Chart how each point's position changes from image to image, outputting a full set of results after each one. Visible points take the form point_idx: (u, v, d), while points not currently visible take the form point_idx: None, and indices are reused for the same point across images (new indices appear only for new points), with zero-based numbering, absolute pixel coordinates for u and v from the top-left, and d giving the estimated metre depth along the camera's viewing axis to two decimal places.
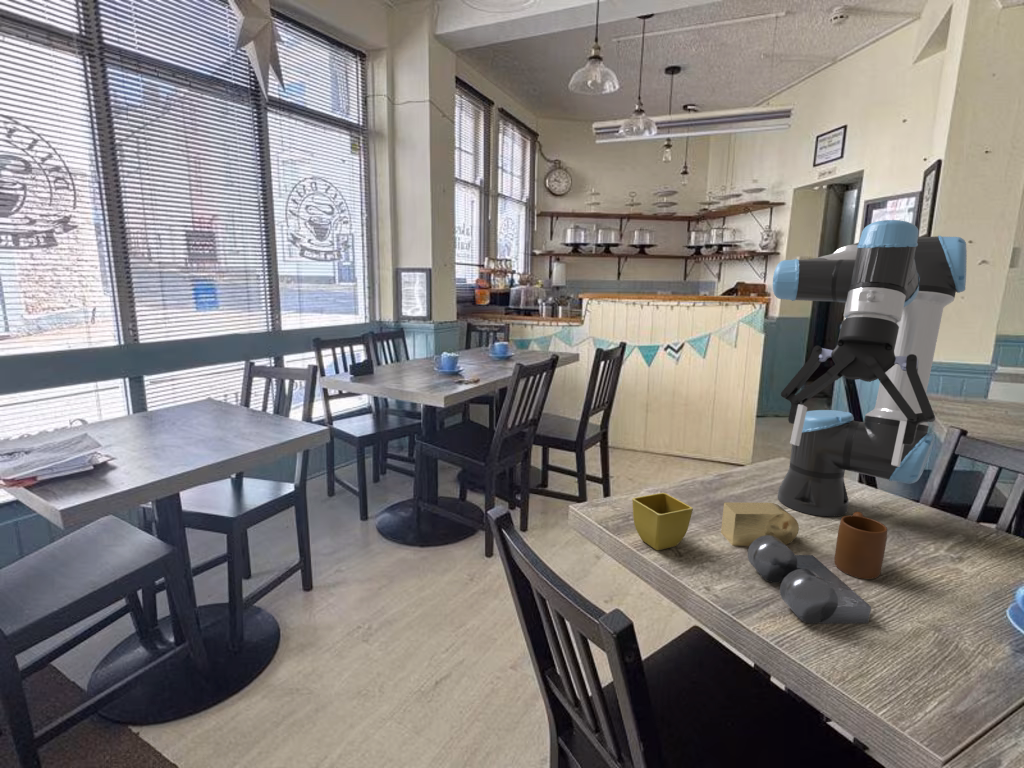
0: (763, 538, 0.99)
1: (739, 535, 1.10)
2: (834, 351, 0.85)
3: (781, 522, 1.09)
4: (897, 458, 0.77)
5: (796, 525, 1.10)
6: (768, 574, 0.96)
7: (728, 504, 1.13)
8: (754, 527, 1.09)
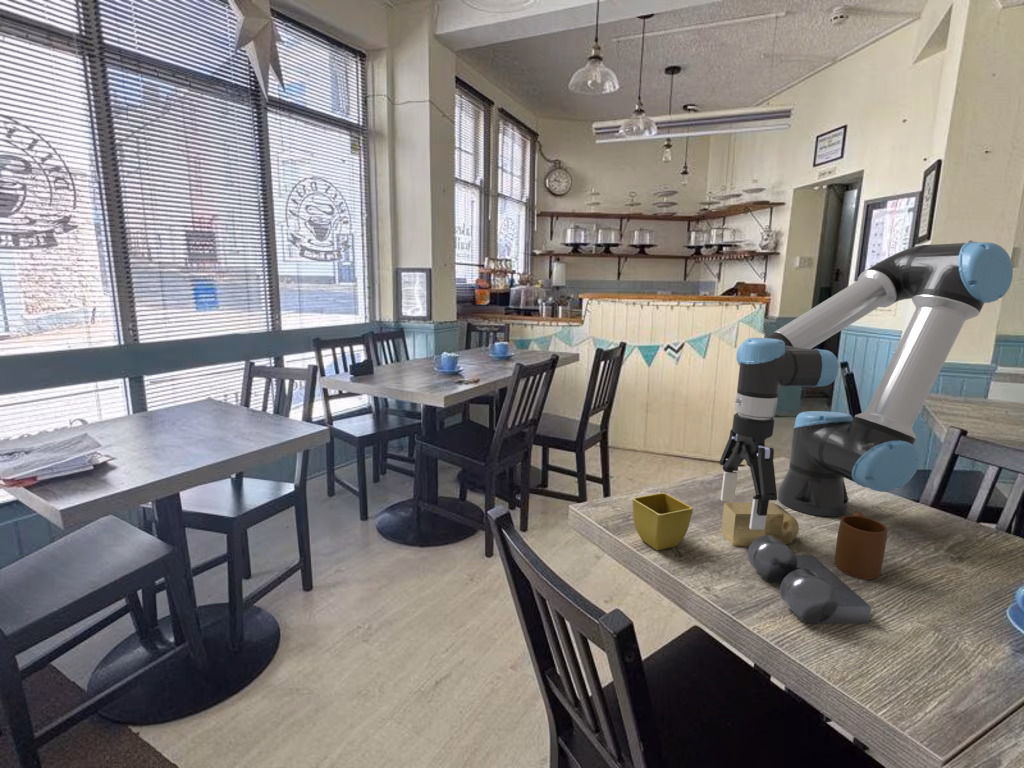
0: (763, 538, 0.99)
1: (739, 535, 1.10)
2: (737, 435, 1.12)
3: (781, 522, 1.09)
4: (751, 524, 1.05)
5: (796, 525, 1.10)
6: (768, 574, 0.96)
7: (728, 504, 1.13)
8: None
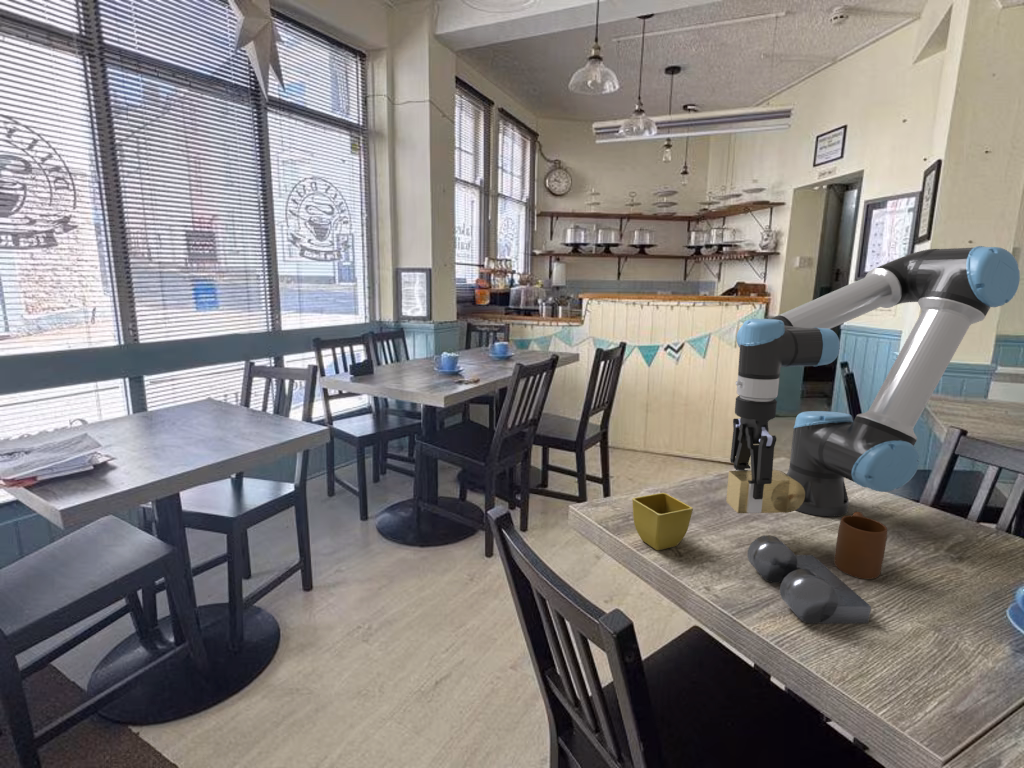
0: (763, 538, 0.99)
1: (745, 502, 1.08)
2: (740, 420, 1.12)
3: (787, 488, 1.08)
4: (748, 508, 1.08)
5: (802, 491, 1.08)
6: (768, 574, 0.96)
7: (733, 472, 1.12)
8: None
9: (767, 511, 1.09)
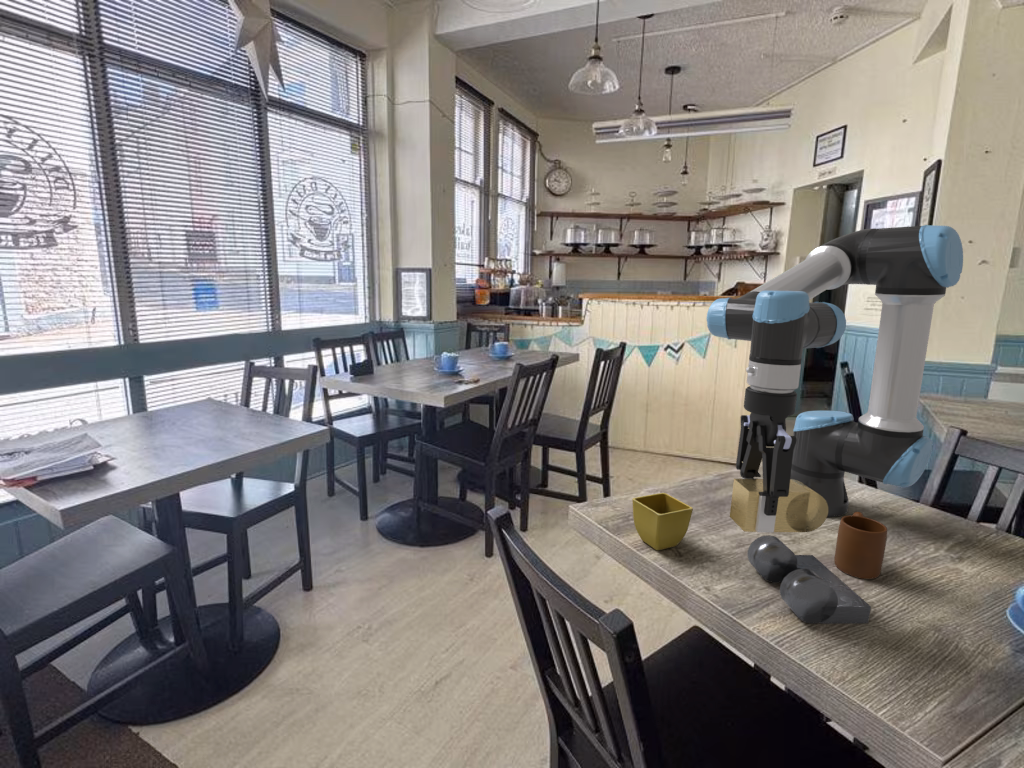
0: (763, 538, 0.99)
1: (753, 518, 0.87)
2: (749, 416, 0.91)
3: (806, 502, 0.87)
4: (757, 526, 0.87)
5: (825, 506, 0.87)
6: (768, 574, 0.96)
7: (739, 480, 0.91)
8: None
9: (781, 530, 0.88)
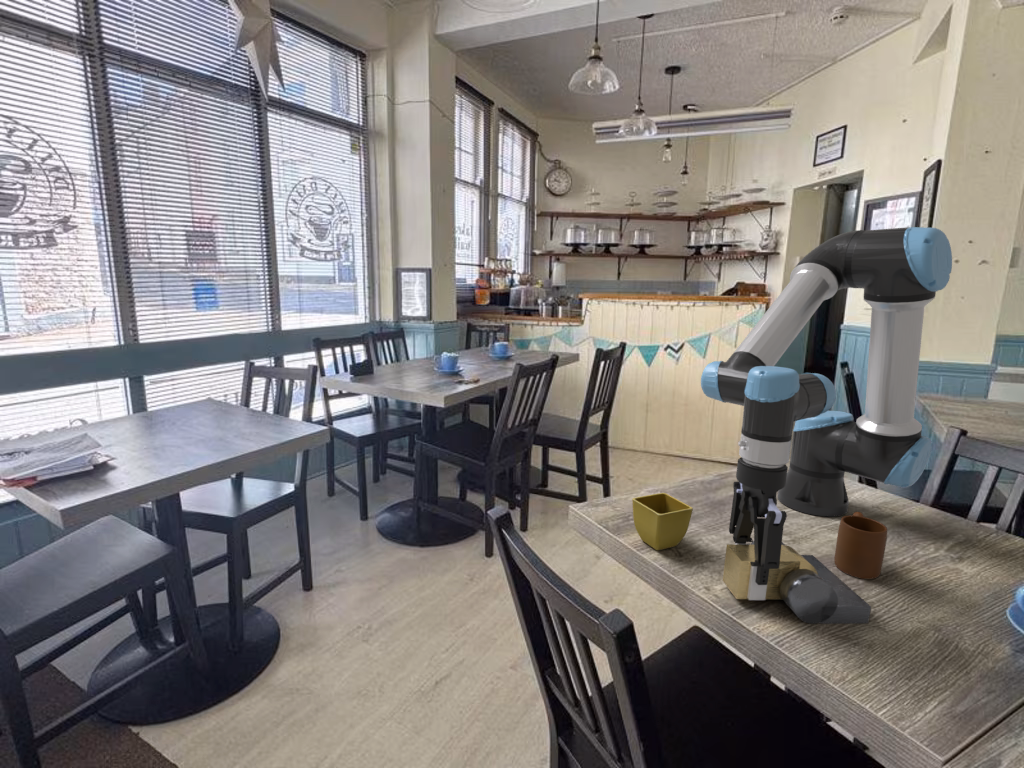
0: None
1: (745, 586, 0.89)
2: (742, 484, 0.93)
3: None
4: (749, 594, 0.89)
5: None
6: None
7: (732, 546, 0.93)
8: None
9: (772, 597, 0.90)
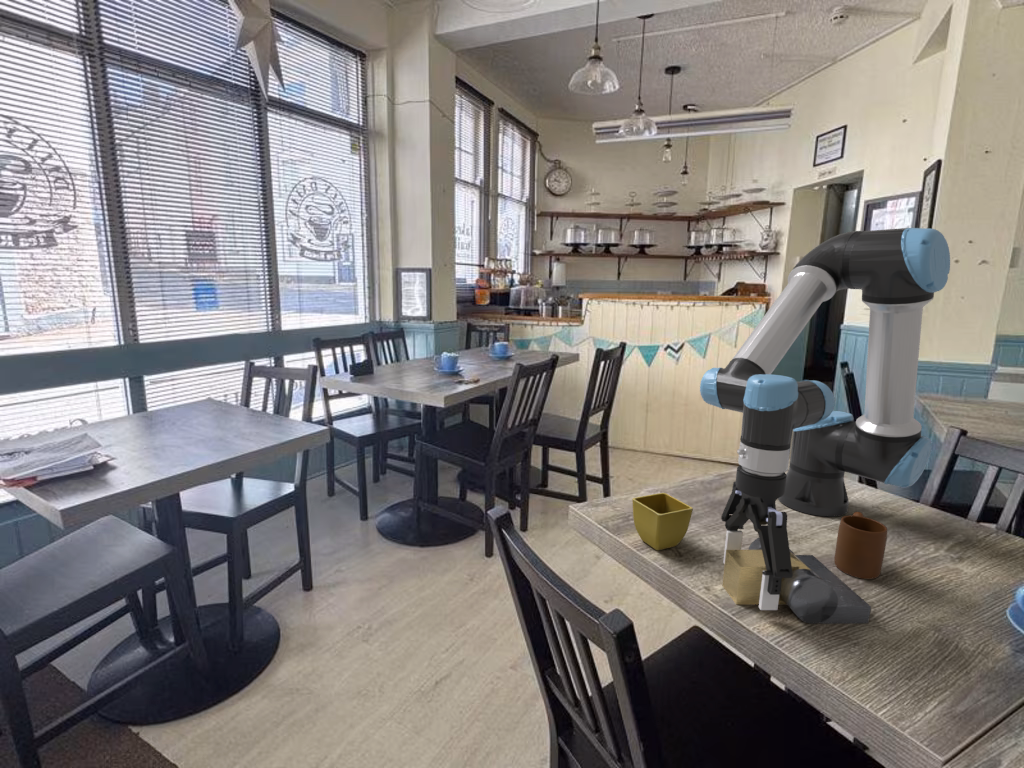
0: None
1: (745, 591, 0.90)
2: None
3: None
4: (760, 603, 0.86)
5: None
6: None
7: (731, 552, 0.93)
8: None
9: None
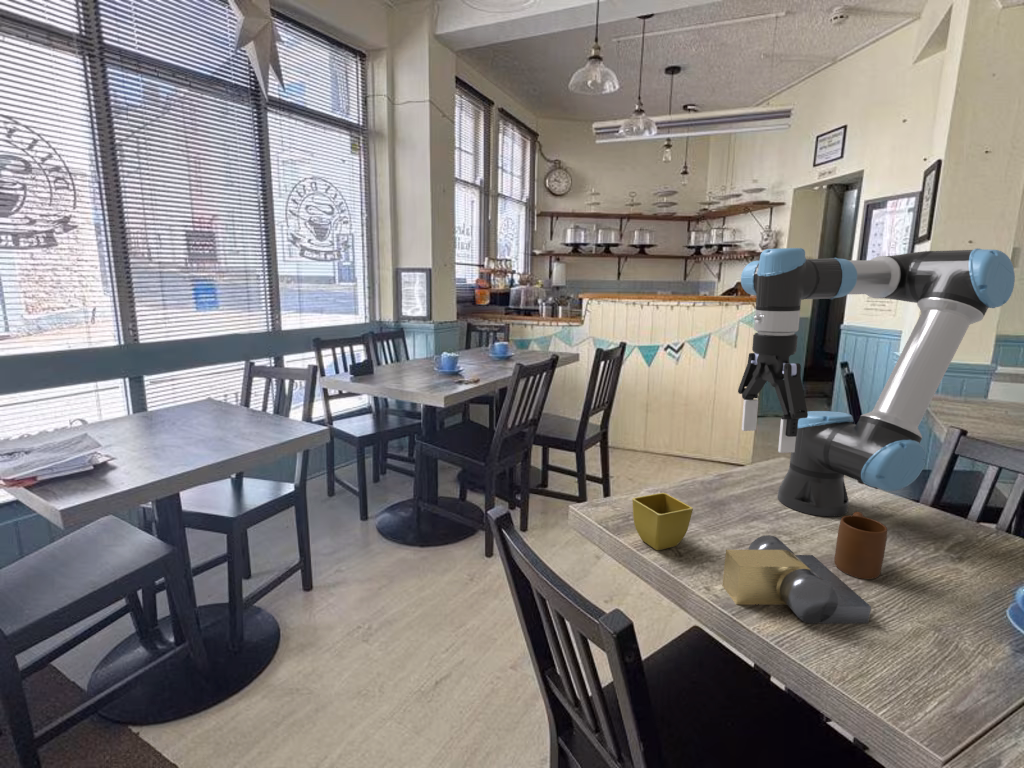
0: (763, 538, 0.99)
1: (745, 591, 0.90)
2: (757, 358, 1.05)
3: None
4: (780, 447, 0.98)
5: None
6: None
7: (731, 552, 0.93)
8: (763, 583, 0.89)
9: (771, 602, 0.90)
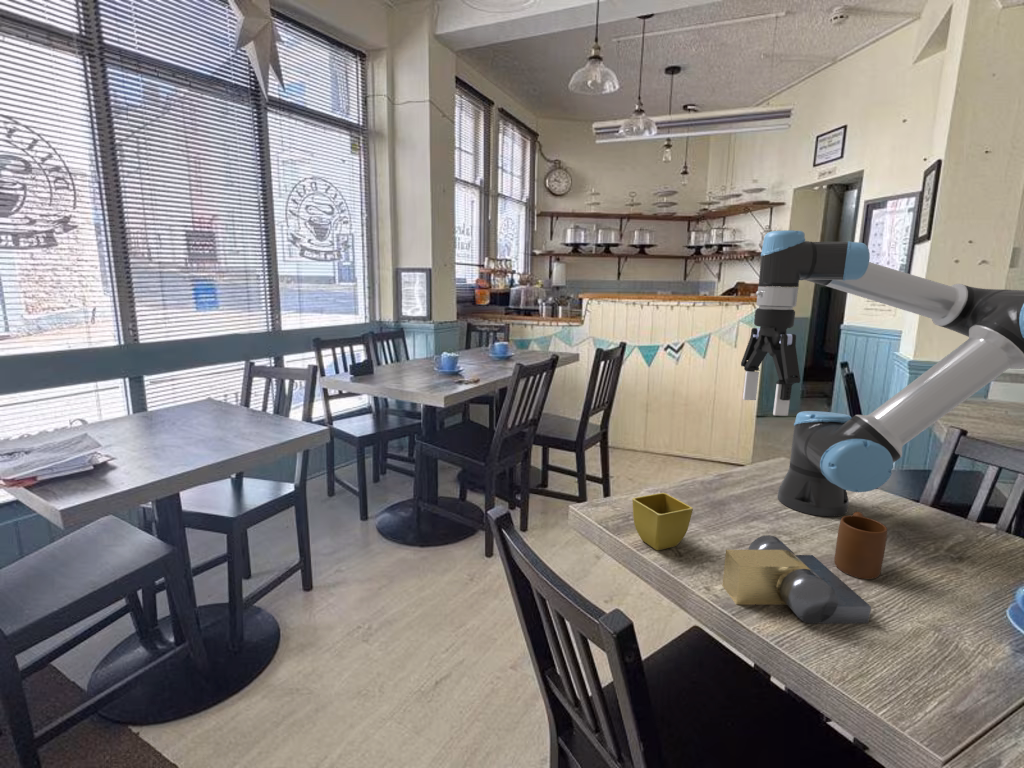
0: (763, 538, 0.99)
1: (745, 591, 0.90)
2: (758, 332, 1.16)
3: None
4: (775, 410, 1.08)
5: None
6: None
7: (731, 552, 0.93)
8: (763, 583, 0.90)
9: (771, 602, 0.90)
